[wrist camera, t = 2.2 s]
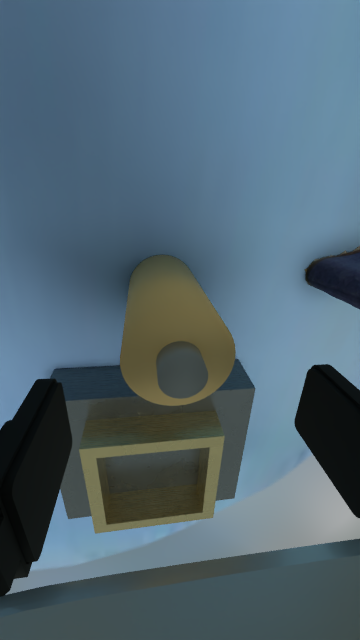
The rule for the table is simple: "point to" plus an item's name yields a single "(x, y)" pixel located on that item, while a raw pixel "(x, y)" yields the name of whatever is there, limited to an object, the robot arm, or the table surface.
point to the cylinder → (173, 336)
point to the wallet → (337, 276)
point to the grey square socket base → (150, 450)
